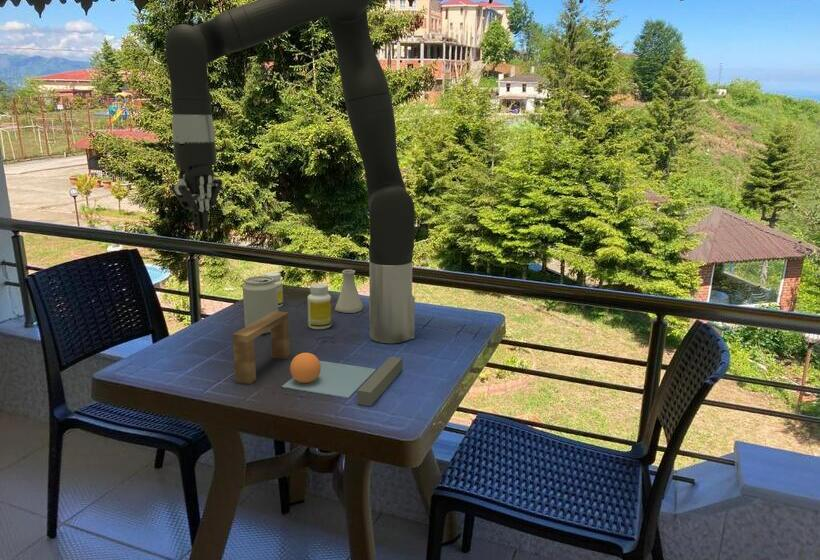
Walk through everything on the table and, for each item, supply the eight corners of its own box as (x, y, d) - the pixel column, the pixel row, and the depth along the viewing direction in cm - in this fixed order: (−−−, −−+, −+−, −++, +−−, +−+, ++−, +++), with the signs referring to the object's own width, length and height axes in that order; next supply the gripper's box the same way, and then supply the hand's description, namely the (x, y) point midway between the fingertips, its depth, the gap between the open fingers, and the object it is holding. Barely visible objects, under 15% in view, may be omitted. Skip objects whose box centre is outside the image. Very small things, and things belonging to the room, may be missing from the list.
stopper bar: (357, 404, 102) (357, 390, 102) (390, 368, 117) (390, 356, 116) (370, 406, 102) (370, 392, 101) (402, 370, 116) (402, 358, 116)
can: (270, 336, 133) (268, 283, 130) (239, 333, 135) (235, 281, 132) (284, 325, 141) (282, 275, 137) (254, 323, 142) (251, 273, 139)
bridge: (235, 381, 110) (232, 334, 108) (276, 353, 124) (274, 310, 121) (250, 384, 109) (247, 336, 107) (290, 355, 123) (288, 312, 120)
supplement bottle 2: (335, 327, 140) (335, 286, 137) (314, 331, 137) (313, 289, 134) (325, 320, 144) (324, 281, 142) (304, 324, 141) (302, 284, 139)
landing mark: (281, 387, 108) (281, 386, 108) (315, 360, 120) (315, 360, 120) (348, 398, 104) (348, 397, 104) (376, 370, 116) (376, 369, 116)
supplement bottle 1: (261, 304, 156) (259, 273, 154) (278, 301, 159) (276, 270, 157) (269, 309, 152) (267, 276, 150) (286, 306, 155) (285, 274, 153)
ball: (314, 345, 113) (317, 372, 114) (285, 351, 110) (288, 379, 112) (323, 356, 108) (325, 384, 109) (292, 362, 106) (295, 391, 107)
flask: (329, 311, 151) (328, 272, 148) (342, 303, 158) (342, 266, 155) (355, 315, 149) (355, 275, 146) (368, 307, 155) (367, 269, 153)
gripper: (199, 138, 122) (206, 223, 126) (153, 140, 110) (162, 234, 114) (231, 139, 119) (237, 226, 124) (188, 141, 107) (195, 237, 112)
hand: (201, 230), depth 119 cm, fingers closed
